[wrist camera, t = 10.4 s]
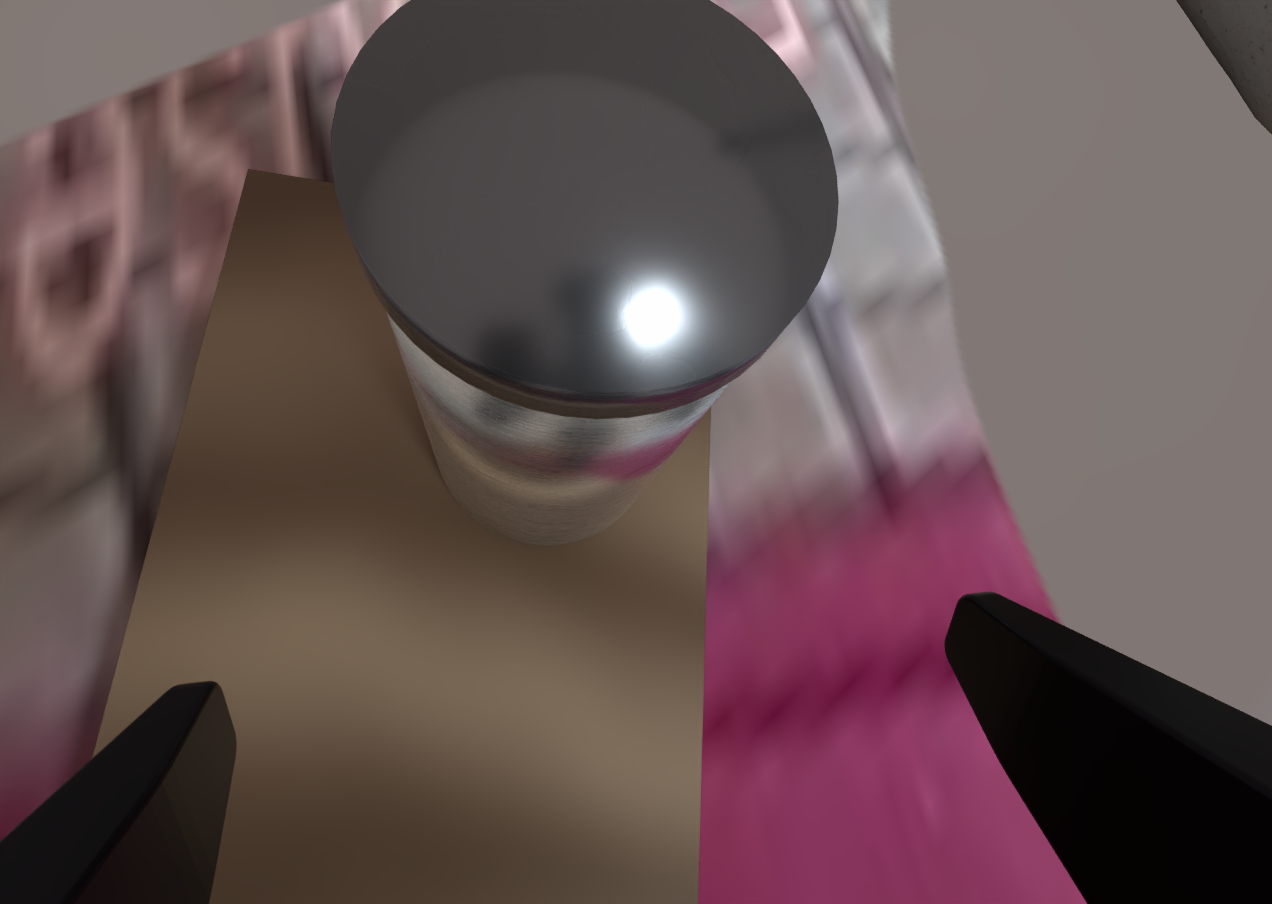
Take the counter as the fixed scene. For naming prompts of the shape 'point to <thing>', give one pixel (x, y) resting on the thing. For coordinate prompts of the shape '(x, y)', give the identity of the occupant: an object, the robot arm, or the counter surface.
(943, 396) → the counter surface
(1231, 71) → the ceramic mug
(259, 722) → the tan wooden panel
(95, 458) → the counter surface
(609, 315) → the metal tin
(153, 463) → the counter surface
